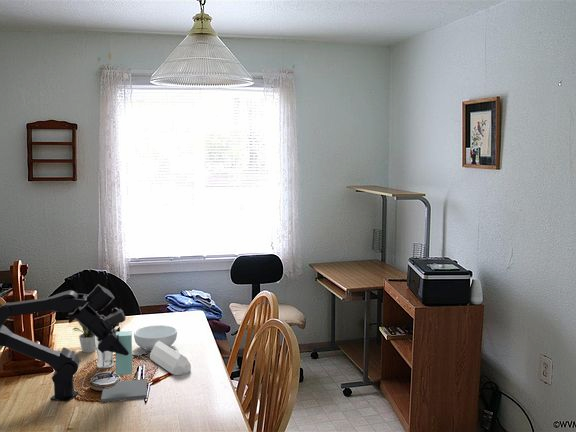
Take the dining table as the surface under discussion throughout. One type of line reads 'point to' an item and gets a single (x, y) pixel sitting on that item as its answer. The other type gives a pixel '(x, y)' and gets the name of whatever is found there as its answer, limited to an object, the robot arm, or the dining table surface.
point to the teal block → (122, 360)
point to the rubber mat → (125, 391)
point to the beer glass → (104, 357)
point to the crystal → (169, 359)
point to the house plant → (86, 340)
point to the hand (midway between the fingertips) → (128, 351)
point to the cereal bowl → (155, 336)
